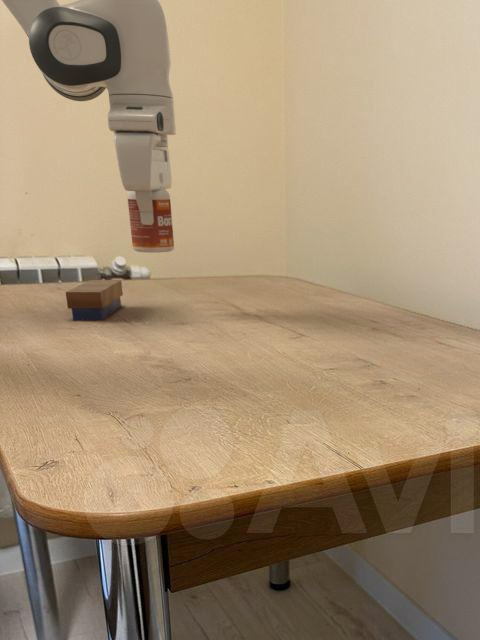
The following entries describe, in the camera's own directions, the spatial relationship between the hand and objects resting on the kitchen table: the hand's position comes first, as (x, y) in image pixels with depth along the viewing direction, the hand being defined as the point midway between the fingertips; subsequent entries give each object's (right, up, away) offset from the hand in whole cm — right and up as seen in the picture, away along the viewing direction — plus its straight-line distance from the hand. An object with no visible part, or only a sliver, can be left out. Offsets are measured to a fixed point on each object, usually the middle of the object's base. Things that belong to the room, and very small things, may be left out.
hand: (153, 222), depth 107 cm
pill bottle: (0, -4, +2) cm, 4 cm away
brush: (-10, -13, +4) cm, 17 cm away
